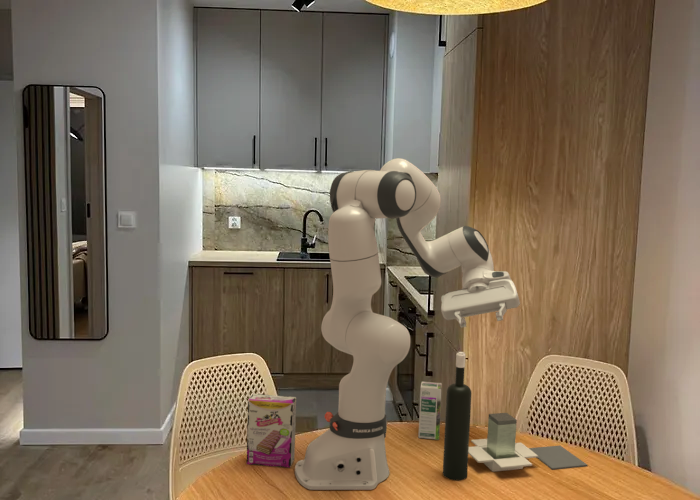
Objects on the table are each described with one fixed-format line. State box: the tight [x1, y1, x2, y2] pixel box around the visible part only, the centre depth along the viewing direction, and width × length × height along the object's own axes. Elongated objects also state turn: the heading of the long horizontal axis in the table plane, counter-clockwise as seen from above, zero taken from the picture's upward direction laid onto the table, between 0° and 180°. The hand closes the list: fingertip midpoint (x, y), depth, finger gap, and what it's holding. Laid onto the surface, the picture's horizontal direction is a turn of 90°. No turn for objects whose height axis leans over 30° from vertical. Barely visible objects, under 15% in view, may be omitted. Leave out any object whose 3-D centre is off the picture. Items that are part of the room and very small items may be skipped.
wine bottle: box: [442, 351, 472, 481], centre depth 153 cm, size 6×6×30 cm
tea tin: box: [486, 412, 518, 459], centre depth 161 cm, size 5×5×12 cm
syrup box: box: [417, 381, 443, 441], centre depth 177 cm, size 6×6×14 cm
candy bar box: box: [246, 393, 297, 469], centre depth 157 cm, size 11×5×16 cm, turn 84°
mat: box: [528, 445, 588, 471], centre depth 166 cm, size 10×12×1 cm
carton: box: [468, 438, 538, 472], centre depth 161 cm, size 16×16×3 cm
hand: (481, 322), depth 163 cm, fingers open, 8 cm apart
